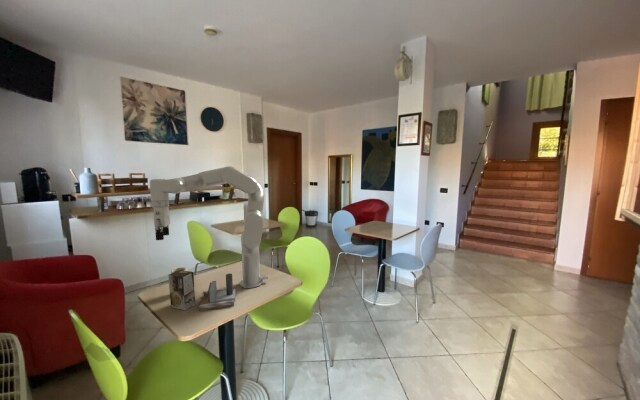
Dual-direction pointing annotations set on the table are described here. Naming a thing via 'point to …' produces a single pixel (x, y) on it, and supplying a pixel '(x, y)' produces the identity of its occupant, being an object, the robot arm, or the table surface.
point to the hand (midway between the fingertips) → (162, 237)
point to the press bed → (208, 305)
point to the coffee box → (182, 289)
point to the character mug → (178, 269)
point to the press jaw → (224, 295)
